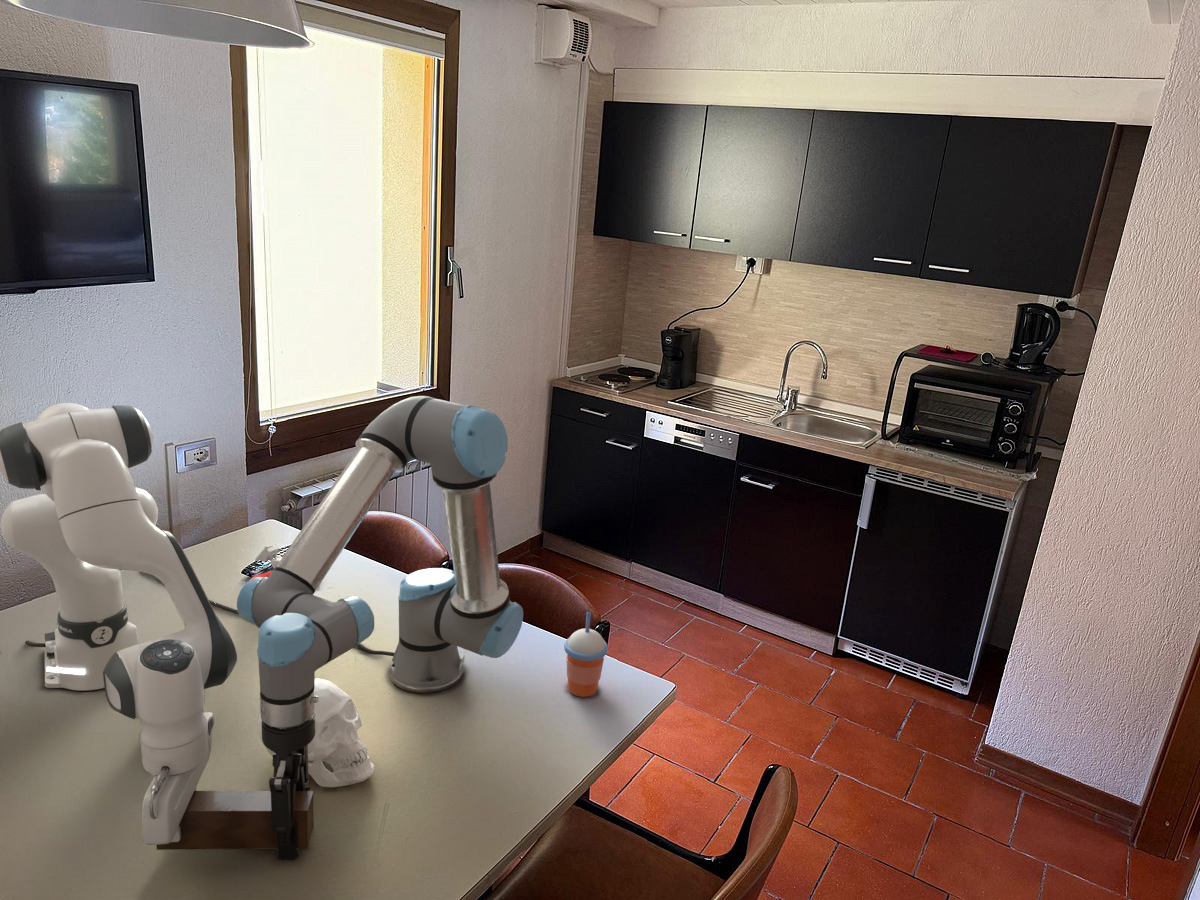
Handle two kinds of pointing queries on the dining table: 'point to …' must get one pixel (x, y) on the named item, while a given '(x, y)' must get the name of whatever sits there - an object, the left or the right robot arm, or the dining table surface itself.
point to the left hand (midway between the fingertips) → (181, 824)
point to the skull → (335, 739)
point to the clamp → (269, 555)
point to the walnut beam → (238, 821)
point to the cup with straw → (584, 660)
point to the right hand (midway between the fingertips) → (292, 844)
